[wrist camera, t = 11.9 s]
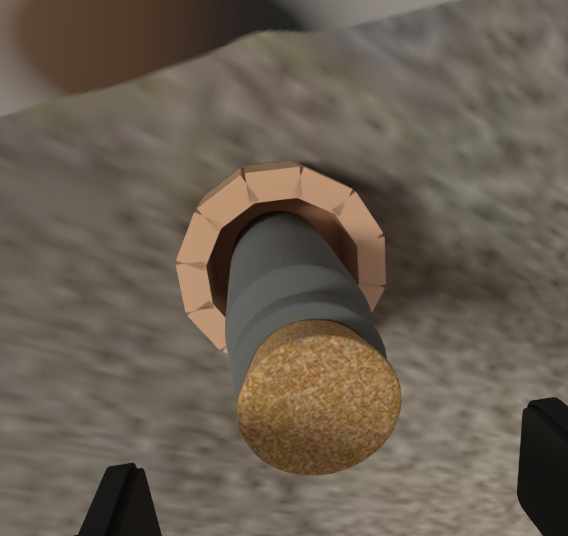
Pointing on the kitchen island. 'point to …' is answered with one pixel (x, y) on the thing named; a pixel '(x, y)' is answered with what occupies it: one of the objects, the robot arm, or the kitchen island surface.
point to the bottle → (304, 351)
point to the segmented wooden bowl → (266, 198)
